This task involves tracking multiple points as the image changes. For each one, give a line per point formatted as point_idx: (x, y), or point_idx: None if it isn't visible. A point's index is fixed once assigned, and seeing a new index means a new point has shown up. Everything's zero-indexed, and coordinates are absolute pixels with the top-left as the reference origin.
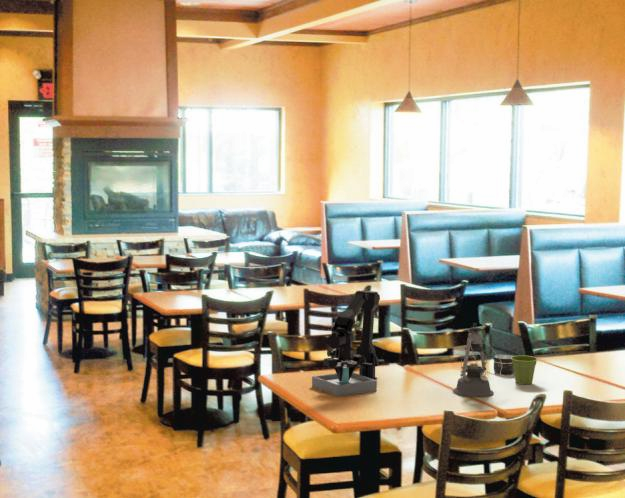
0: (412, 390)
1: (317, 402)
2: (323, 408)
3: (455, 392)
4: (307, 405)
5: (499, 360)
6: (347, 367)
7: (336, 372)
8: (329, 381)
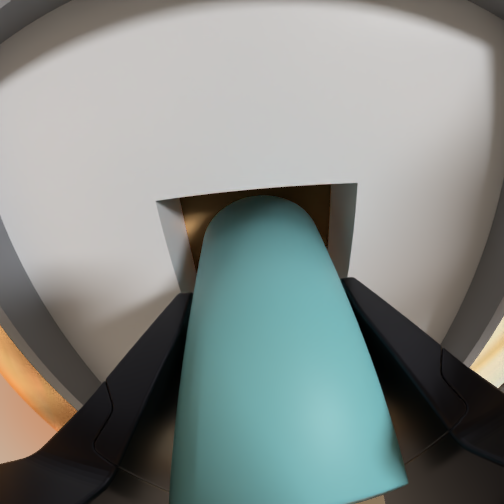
0: (496, 356)
1: (36, 387)
2: (63, 423)
3: (501, 390)
4: (14, 388)
5: None
6: (367, 498)
7: (98, 404)
8: (92, 110)
